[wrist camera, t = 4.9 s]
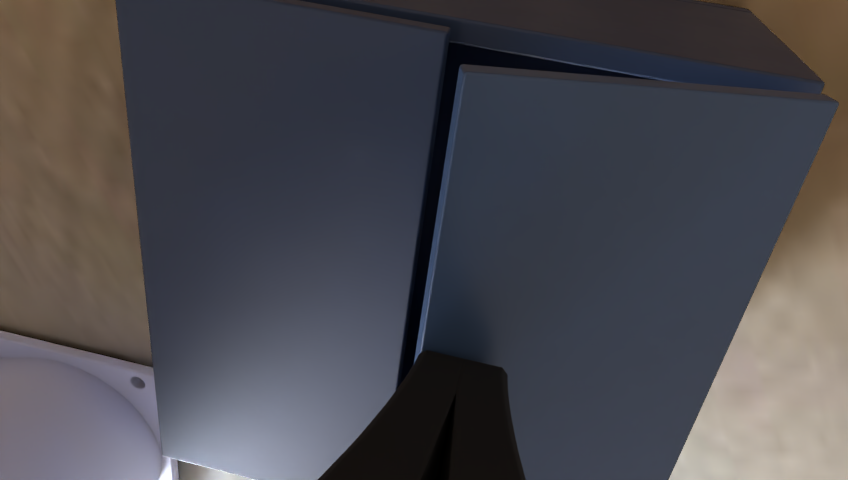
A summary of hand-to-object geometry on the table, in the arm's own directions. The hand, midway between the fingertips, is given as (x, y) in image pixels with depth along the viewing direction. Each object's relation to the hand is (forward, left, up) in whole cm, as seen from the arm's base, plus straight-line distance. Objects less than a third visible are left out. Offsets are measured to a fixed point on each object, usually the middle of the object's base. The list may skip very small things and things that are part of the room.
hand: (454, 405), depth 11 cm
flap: (+2, 0, -1) cm, 2 cm away
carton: (-1, 0, -8) cm, 8 cm away
